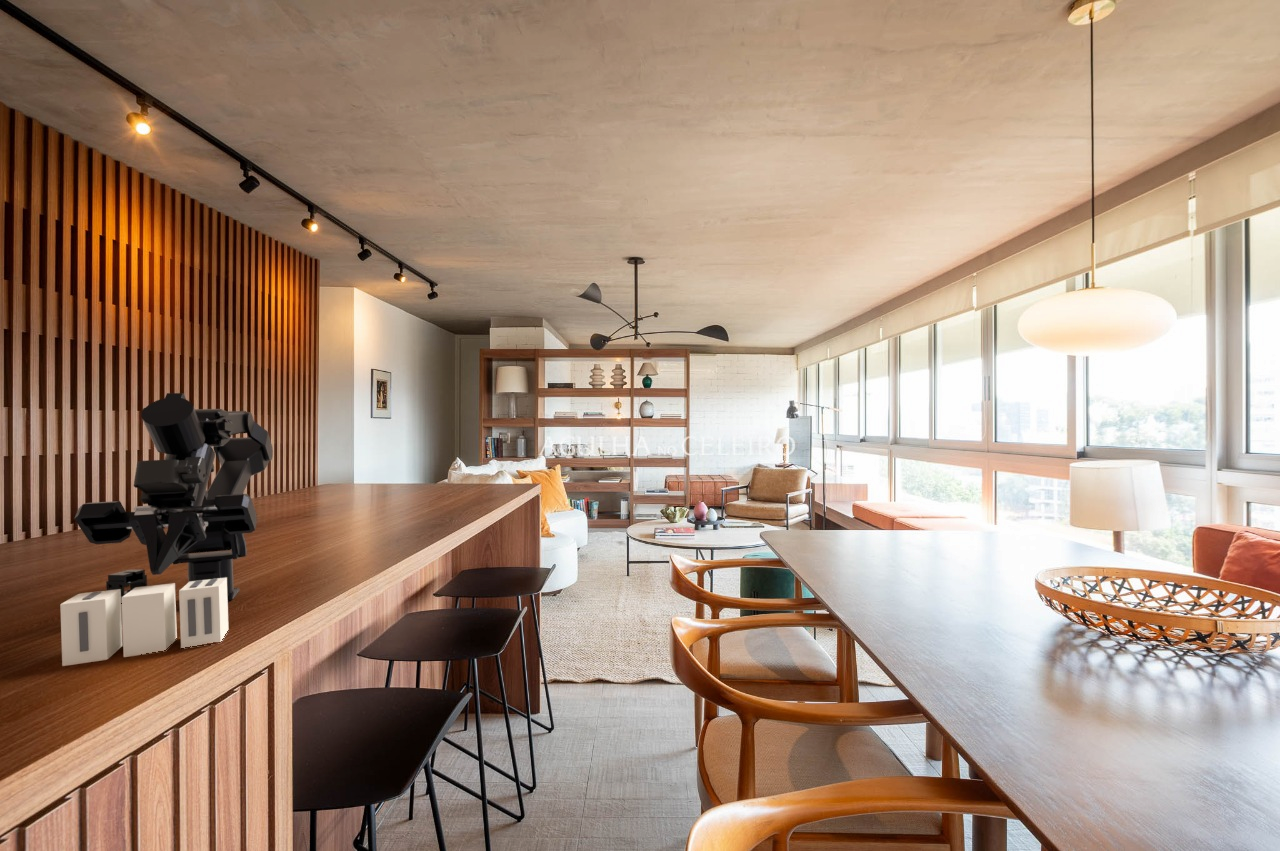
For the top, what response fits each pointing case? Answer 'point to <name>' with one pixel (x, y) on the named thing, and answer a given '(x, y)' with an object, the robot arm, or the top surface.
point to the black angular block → (126, 580)
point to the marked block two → (203, 612)
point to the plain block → (149, 619)
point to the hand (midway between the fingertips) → (155, 572)
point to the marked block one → (91, 627)
